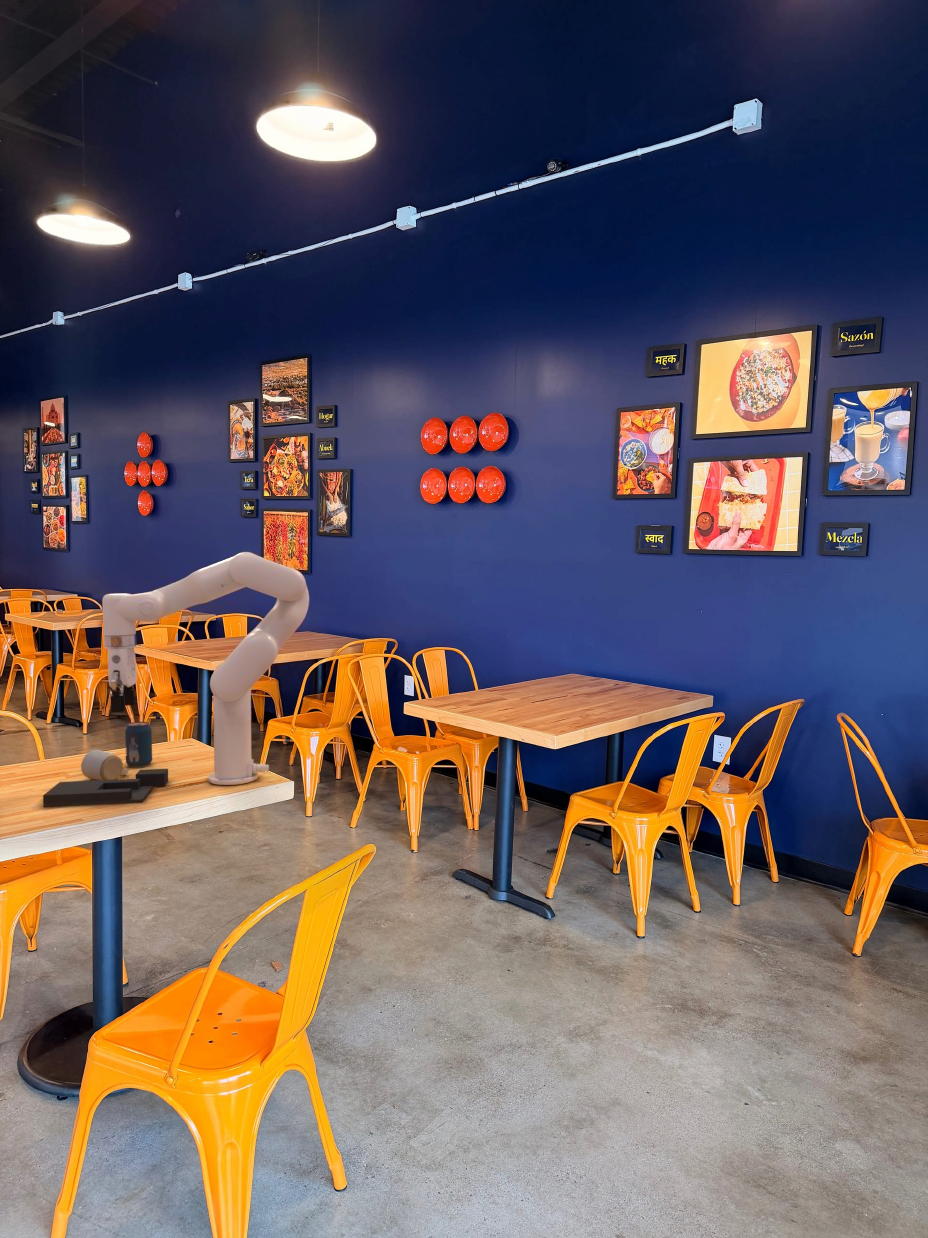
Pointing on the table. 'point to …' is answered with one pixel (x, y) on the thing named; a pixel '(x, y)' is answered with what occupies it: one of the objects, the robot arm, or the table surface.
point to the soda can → (138, 744)
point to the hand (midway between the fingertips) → (123, 708)
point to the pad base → (96, 792)
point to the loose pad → (153, 777)
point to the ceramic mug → (102, 766)
